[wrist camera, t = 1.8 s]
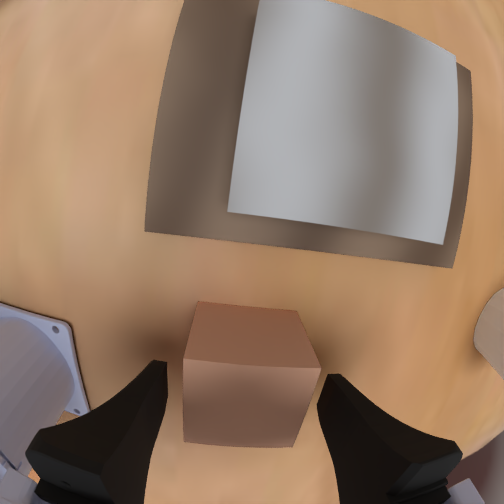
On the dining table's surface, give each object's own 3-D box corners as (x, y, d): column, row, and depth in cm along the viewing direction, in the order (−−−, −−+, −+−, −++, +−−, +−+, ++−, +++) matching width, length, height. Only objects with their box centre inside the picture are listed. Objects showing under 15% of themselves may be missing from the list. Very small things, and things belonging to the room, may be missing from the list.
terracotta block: (194, 377, 16) (183, 441, 11) (198, 300, 14) (183, 358, 9) (279, 383, 16) (292, 447, 11) (296, 310, 15) (321, 368, 10)
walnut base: (151, 226, 13) (125, 244, 10) (190, 1, 10) (180, -39, 7) (440, 262, 15) (479, 282, 11) (458, 74, 12) (496, 63, 8)
